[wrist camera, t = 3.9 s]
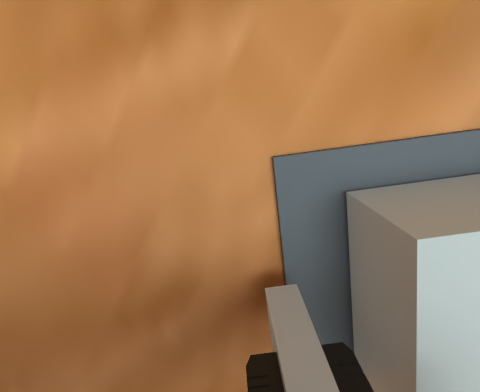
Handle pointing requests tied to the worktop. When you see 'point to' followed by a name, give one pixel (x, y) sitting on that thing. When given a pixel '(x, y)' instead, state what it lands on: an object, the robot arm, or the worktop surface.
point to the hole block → (417, 284)
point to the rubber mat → (335, 211)
